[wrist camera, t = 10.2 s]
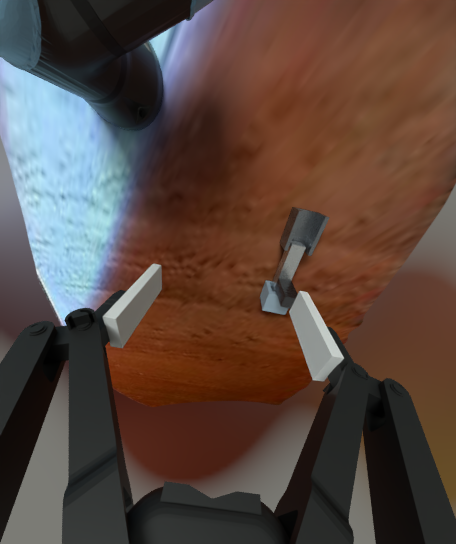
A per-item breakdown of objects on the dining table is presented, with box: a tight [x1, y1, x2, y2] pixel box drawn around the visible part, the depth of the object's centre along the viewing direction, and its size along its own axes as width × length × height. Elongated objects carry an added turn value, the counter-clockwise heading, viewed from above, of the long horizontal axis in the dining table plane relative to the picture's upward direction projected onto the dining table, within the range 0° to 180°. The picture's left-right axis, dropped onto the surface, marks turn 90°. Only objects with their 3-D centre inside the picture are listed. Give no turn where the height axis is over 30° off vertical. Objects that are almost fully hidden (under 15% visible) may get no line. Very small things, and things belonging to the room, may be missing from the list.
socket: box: [260, 280, 288, 315], centre depth 49 cm, size 6×7×7 cm
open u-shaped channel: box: [280, 207, 329, 256], centre depth 40 cm, size 9×7×5 cm
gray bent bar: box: [271, 240, 306, 309], centre depth 42 cm, size 16×3×11 cm, turn 169°
